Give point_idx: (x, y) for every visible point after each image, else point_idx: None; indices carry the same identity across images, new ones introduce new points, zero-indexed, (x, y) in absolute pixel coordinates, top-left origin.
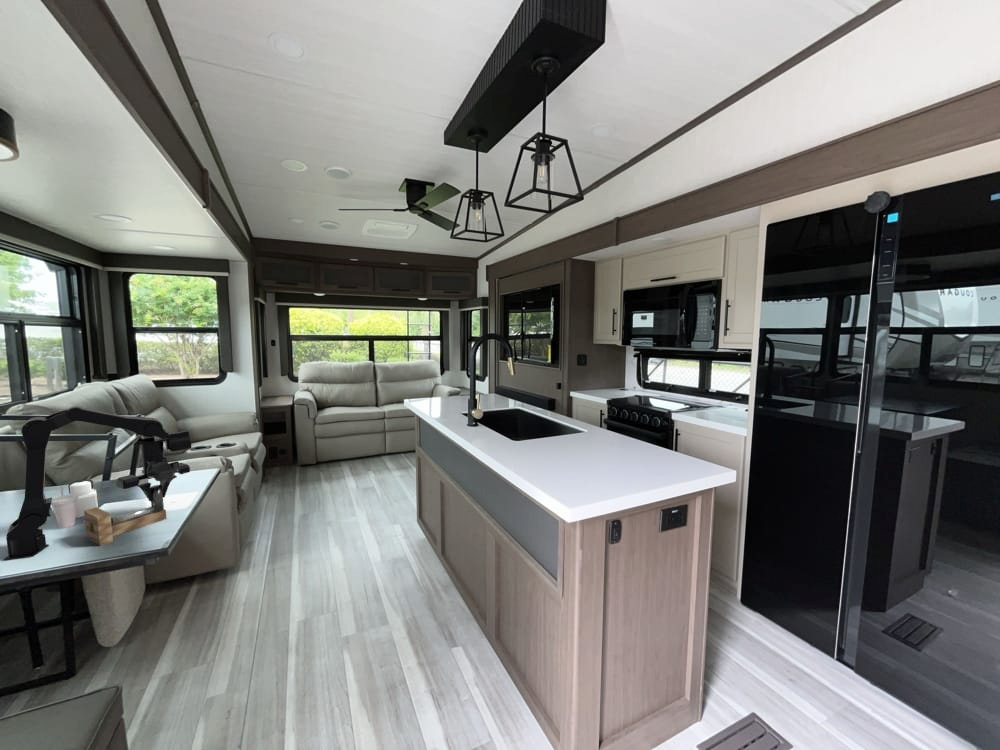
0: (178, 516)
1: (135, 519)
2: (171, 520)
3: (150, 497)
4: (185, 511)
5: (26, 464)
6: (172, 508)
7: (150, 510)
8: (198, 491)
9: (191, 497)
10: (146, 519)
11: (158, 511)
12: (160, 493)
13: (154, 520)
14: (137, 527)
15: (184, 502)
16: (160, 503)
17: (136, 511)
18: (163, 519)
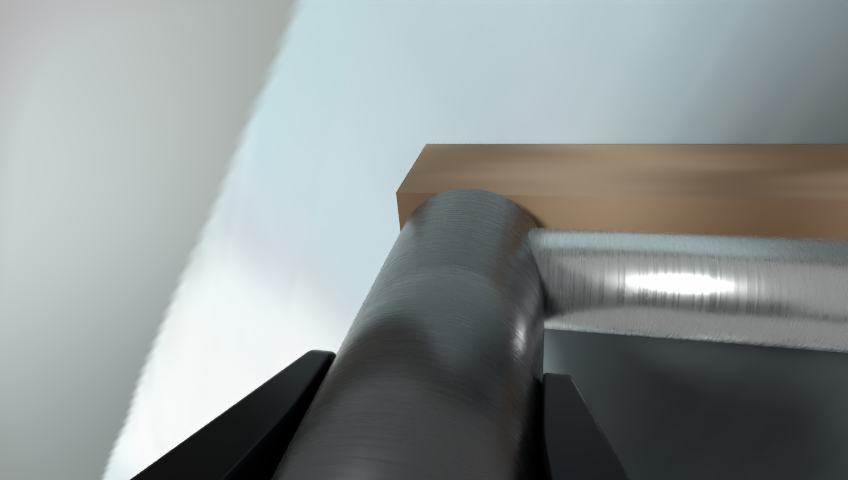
0: (320, 90)
1: (816, 210)
2: (410, 29)
3: (581, 444)
4: (238, 171)
5: None
6: (308, 346)
7: (593, 239)
8: (116, 461)
9: (161, 415)
10: (650, 177)
11: None
12: (346, 414)
13: (551, 156)
14: (754, 148)
15: (213, 376)
16: (433, 247)
17: (809, 318)
18: (456, 146)
